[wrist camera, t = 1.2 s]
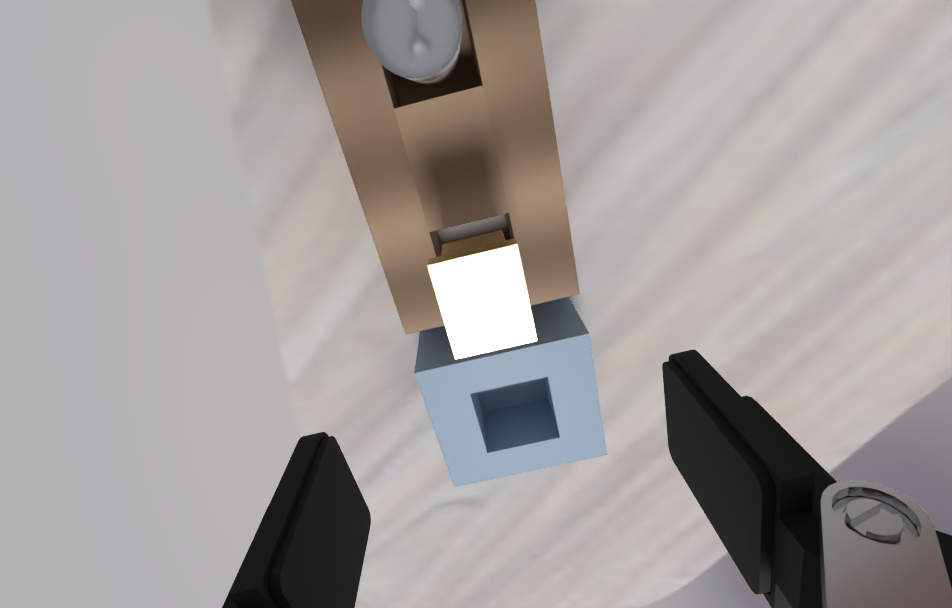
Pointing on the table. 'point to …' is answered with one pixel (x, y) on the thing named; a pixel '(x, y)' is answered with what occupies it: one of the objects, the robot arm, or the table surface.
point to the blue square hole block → (514, 399)
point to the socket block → (448, 146)
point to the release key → (482, 294)
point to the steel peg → (414, 37)
